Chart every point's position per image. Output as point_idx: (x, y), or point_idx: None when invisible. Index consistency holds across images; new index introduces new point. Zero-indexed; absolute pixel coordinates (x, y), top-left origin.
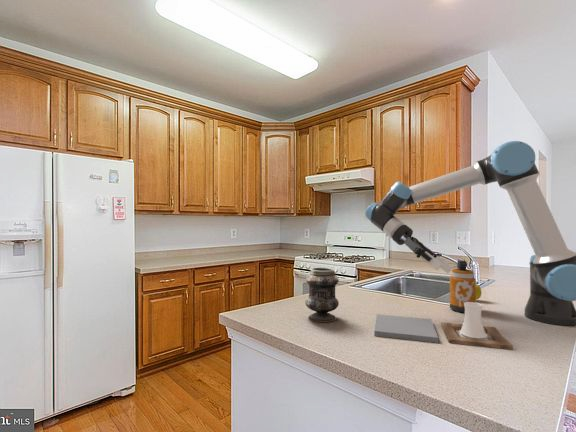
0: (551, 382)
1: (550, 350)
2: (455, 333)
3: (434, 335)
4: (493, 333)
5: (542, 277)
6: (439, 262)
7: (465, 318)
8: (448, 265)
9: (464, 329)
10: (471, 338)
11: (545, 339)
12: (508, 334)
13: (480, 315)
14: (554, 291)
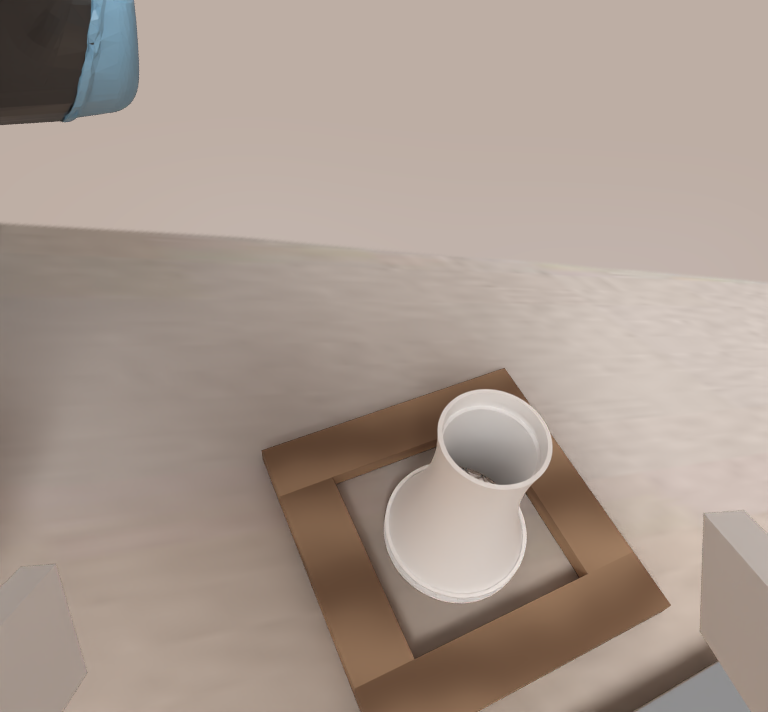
0: (687, 292)
1: (398, 287)
2: (546, 600)
3: (721, 684)
4: (383, 443)
5: (29, 40)
6: (765, 542)
7: (508, 521)
8: (15, 628)
9: (512, 549)
10: (553, 514)
11: (264, 295)
12: (290, 404)
13: (484, 431)
14: (137, 85)
